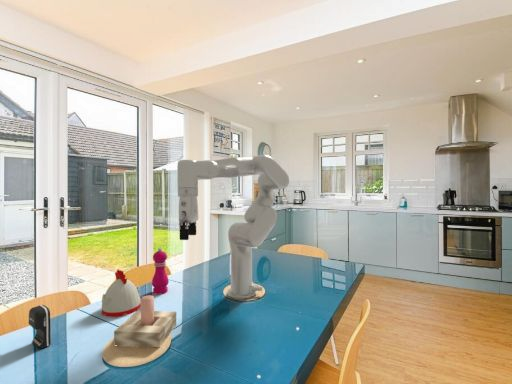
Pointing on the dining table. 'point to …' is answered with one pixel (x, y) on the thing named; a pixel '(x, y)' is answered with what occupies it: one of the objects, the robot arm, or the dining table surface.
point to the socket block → (145, 330)
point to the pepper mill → (160, 273)
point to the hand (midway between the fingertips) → (188, 237)
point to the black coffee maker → (40, 325)
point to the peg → (147, 310)
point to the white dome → (120, 297)
